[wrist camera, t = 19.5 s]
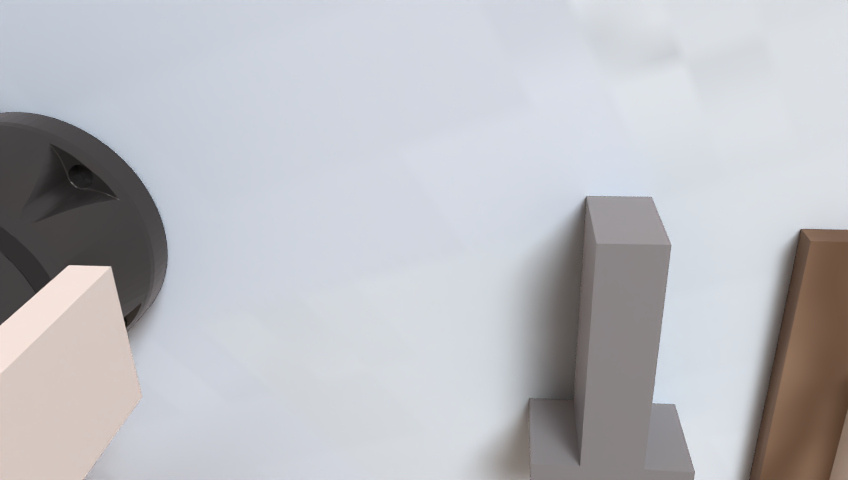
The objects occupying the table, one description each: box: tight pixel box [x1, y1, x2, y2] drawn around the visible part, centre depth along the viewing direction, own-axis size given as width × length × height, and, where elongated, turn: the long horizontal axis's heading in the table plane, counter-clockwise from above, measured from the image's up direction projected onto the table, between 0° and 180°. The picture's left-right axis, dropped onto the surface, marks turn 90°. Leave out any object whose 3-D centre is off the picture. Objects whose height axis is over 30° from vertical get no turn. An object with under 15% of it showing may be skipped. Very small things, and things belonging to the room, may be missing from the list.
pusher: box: [529, 196, 695, 480], centre depth 42 cm, size 9×16×6 cm, turn 2°
